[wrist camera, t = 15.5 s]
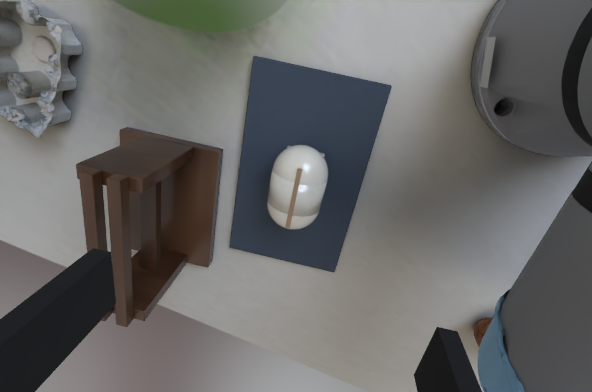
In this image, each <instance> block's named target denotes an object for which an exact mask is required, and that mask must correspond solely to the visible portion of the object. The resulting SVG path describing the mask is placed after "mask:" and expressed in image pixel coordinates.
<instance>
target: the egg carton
mask: <svg viewBox="0 0 592 392" xmlns="http://www.w3.org/2000/svg"><path fill="white" fill-rule="evenodd" d="M82 50H83V49H82V44H81V43H80V42H79V41H78V39H77V38H76V36H75V35H74V32H73V28H72V26H71V25H70V24H69V23H67V22H66V21H65V20H60V19H53V18H45V17H43V16H41V15H39V14H38V8H37V6H36V5H34V4H32V3H31V2H29V1H26V0H0V116H3V117H5V118H7V120H9V122H12V123H14V124H16V125H17V126H18V127H19V128H22V129H26V130H29V132H30V133H31V134H33V135H34V136H36V137H37V138H38V137H40V135H41V134H42V133H43V132H44V130H45V129H46V127H49V126H54V125H56V124H57V123H60V122H65V121H68V120H70V118H71V111H70V110H69V109H68V108H67V106H66V105H65V103H64V102H63V100H62V95H63V91H64V90H73V89H75V88H76V86H77V79H76V78H75V77H74V76H73V75H72V74H71V72H70V70H69V68H68V58H69V57H70V56H71V55H81V54H82Z"/></svg>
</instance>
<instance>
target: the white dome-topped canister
mask: <svg viewBox="0 0 592 392" xmlns="http://www.w3.org/2000/svg"><path fill="white" fill-rule="evenodd" d="M324 157H325V154H323V153H320V152H319V151H317V150H316V149H315V148H313V147H310V146H307V145H294V146H287V148H286V149H285V150H283V151H282V152H281V153H280V154H279V155H278V156H277V158H276V160H275V162H274V165H273V168H272V174H271V180H270V185H269V191H268V197H267V207H268V212H269V214H270V216H271V218H272V219H273V220H274V221H275V222H276V223H277V224H278V225H279V226H281V227H283V228H286V229H290V230H297V229H302V228H305V227H307V226H308V225H310V224H311V223H312V222H313V221H314V220H315V219H316V217H317V216H318V214H319V211H320V208H321V204H322V200H323V196H324V192H325V188H326V184H327V181H328V175H329V173H328V166H327V162H326V160H325V158H324Z"/></svg>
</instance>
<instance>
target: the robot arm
mask: <svg viewBox="0 0 592 392" xmlns="http://www.w3.org/2000/svg"><path fill="white" fill-rule="evenodd" d="M471 85H472V92H473V96H474V100H475V103H476V106H477V108H478V111H479V112H480V114H481V116H482V118H483V119H484V121H485V122H486V123H487V125H488V126H489V127H490V128H491V129H492V130H493V131H494V132H495V133H497V134H498V135H499V136H500V137H502V138H503V139H505V140H507V141H509V142H511V143H513V144H514V145H516V146H518V147H520V148H522V149H525V150H527V151H530V152H533V153H537V154H541V155H547V156H563V157H571V156H592V0H498V1H497V3H496V4H495V6H494V7H493V9H492V11H491V12H490V14H489V16H488V17H487V19H486V21H485V23H484V25H483V27H482V30H481V32H480V34H479V37H478V40H477V43H476V46H475V50H474V54H473V60H472V68H471ZM115 304H116V297H115V287H114V277H113V267H112V257H111V252H108V251H103V250H99V249H95V248H93V249H91V250H90V251H89V252H88V253H86V254H85V255H84V256H82V257H81V258H80V259H78V260H77V261H76V262H74V263H73V264H72V265H71V266H69V267H68V268H67V269H65V270H64V271H63V272H61V273H60V274H59V275H58V276H56V277H55V278H54V279H52V280H51V281H50V282H48V283H47V284H46V285H44V286H43V287H42V288H41V289H39V290H38V291H37V292H35V293H34V294H33V295H31V296H30V297H29V298H28V299H26V300H25V301H24V302H23V303H21V304H20V305H18V306H17V307H16V308H14V309H13V310H12V311H11V312H9V313H8V314H7V315H5V316H4V317H3V318H1V319H0V392H35V391H36V390H37V389H38V388H39V387H40V385H41V384H42V383H43V382H44V381H45V380H46V379H47V378H48V377H49V376H50V375H51V374H52V373H53V371H54V370H55V369H56V368H57V367H58V366H59V365H60V364H61V363H62V362H63V361H64V360H65V358H66V357H67V356H68V355H69V354H70V353H71V352H72V351H73V350H74V349H75V348H76V347H77V345H78V344H79V343H80V342H81V341H82V340H83V339H84V338H85V337H86V336H87V335H88V333H89V332H90V331H91V330H92V329H93V328H94V327H95V326H96V325H97V324H98V323H99V322H100V320H101V319H102V318H103V317H104V316H105V315H106V314H107V313H108V312H109V311H110V310H111V309H112V307H113V306H114V305H115ZM478 374H479V380H480V383H481V386H482V388H483V390H484V392H592V162H591V163H590V165H589V166H588V168H587V170H586V171H585V173H584V175H583V176H582V178H581V179H580V181H579V183H578V184H577V186H576V187H575V189H574V190H573V191H572V192H571V194H570V196H569V197H568V199H567V200H566V202H565V204H564V205H563V207H562V208H561V210H560V211H559V213H558V215H557V216H556V218H555V219H554V221H553V223H552V224H551V226H550V227H549V229H548V231H547V232H546V234H545V235H544V237H543V238H542V240H541V242H540V243H539V245H538V246H537V248H536V250H535V251H534V253H533V254H532V256H531V258H530V259H529V261H528V262H527V264H526V265H525V267H524V269H523V270H522V272H521V273H520V275H519V277H518V278H517V280H516V281H515V283H514V285H513V286H512V288H511V289H510V290H508V291H507V292H506V293H505V294H504V295H503V296H501V297H500V299H499V300H498V302H497V305H496V307H495V313H494V317H493V319H492V321H491V323H490V325H489V327H488V329H487V331H486V333H485V334H484V336H483V338H482V341H481V344H480V347H479V351H478ZM414 377H415V382H416V386H417V391H418V392H482V391H481V388H480V386H479V384H478V381H477V379H476V376H475V374H474V371H473V369H472V366H471V364H470V361H469V359H468V356H467V354H466V351H465V349H464V347H463V344H462V342H461V339H460V337H459V334H458V332H457V331H452V330H448V329H443V328H439V327H437V328H436V330H435V332H434V335H433V337H432V339H431V341H430V343H429V345H428V347H427V349H426V351H425V353H424V355H423V357H422V359H421V361H420V363H419V365H418V367H417V370H416V372H415V374H414Z"/></svg>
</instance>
